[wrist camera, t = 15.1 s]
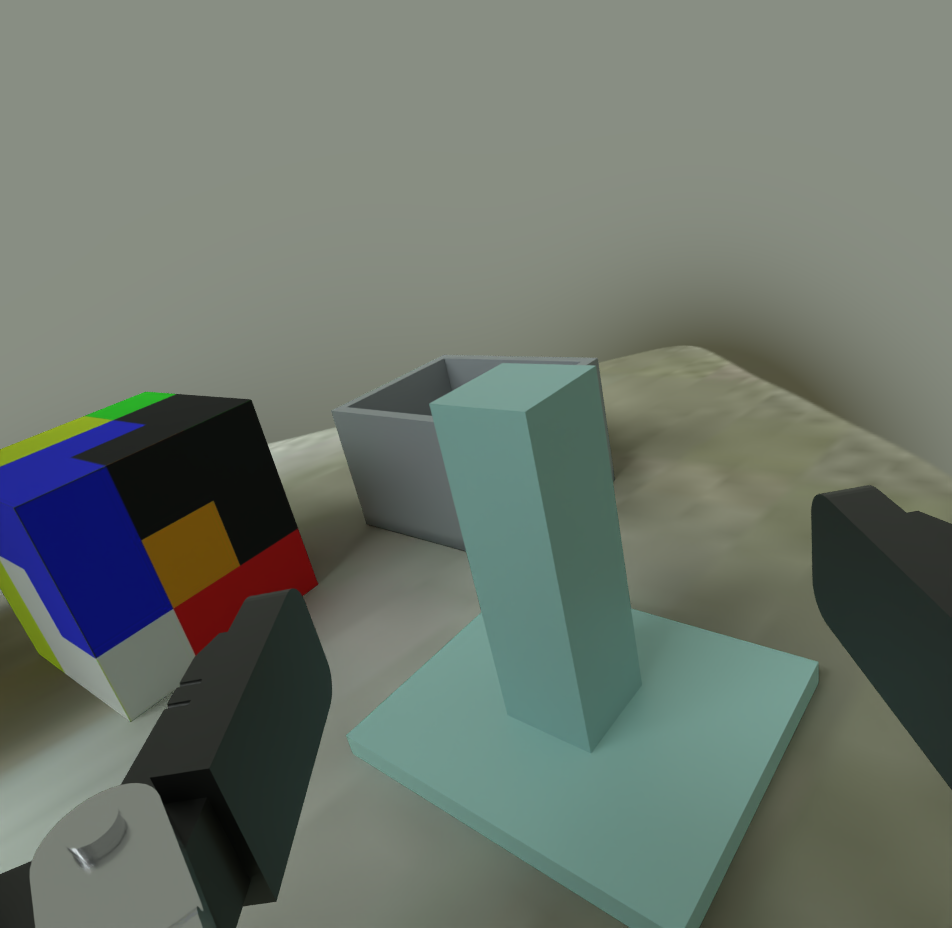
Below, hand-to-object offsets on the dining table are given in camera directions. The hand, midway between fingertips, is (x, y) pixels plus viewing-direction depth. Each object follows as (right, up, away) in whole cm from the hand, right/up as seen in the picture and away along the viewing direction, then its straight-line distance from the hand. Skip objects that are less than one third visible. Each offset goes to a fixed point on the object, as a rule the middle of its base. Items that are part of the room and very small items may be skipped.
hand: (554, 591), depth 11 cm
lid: (+2, -7, +12) cm, 14 cm away
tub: (-1, 0, +28) cm, 28 cm away
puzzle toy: (-16, -6, +23) cm, 29 cm away
